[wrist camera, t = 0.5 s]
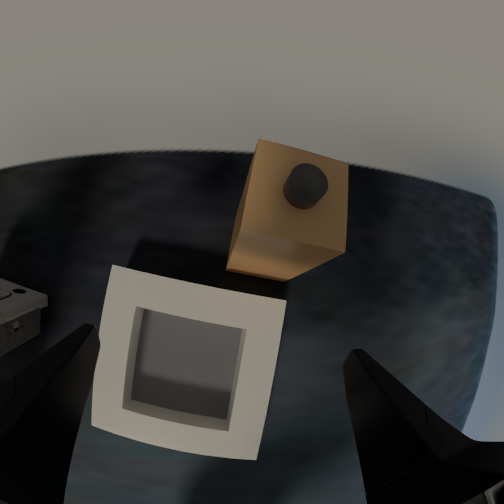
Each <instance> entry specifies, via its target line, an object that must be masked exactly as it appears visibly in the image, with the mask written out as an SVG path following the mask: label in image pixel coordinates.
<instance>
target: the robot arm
mask: <svg viewBox="0 0 504 504" xmlns="http://www.w3.org/2000/svg"><path fill="white" fill-rule="evenodd" d="M99 351H100V339H99V336H98V332H97V328H96V327H95V326H94V325H91V324H83V325H82V326H80V327H79V328H77V329H76V330H75V331H73V332H72V333H70V334H69V335H68V336H66V337H65V338H63V339H62V340H61V341H59V342H58V343H57V344H55V345H54V346H53V347H51V348H50V349H48V350H47V351H46V352H44V353H43V354H42V355H40V356H39V357H38V358H36V359H35V360H34V361H32V362H31V363H30V364H28V365H27V366H26V367H24V368H23V369H22V370H21V371H19V372H18V373H17V374H16V375H14V376H13V377H11V378H10V379H9V380H8V381H6V382H5V383H3V384H2V385H1V386H0V504H63V503H64V496H65V489H66V484H67V477H68V472H69V467H70V462H71V458H72V453H73V449H74V445H75V441H76V437H77V433H78V429H79V426H80V422H81V418H82V415H83V411H84V408H85V405H86V401H87V398H88V395H89V392H90V389H91V385H92V381H93V377H94V372H95V368H96V363H97V359H98V355H99ZM343 375H344V383H345V391H346V399H347V405H348V410H349V414H350V418H351V423H352V427H353V432H354V436H355V441H356V446H357V450H358V455H359V460H360V465H361V471H362V476H363V482H364V487H365V493H366V500H367V504H504V442H482V441H475V440H473V439H470V438H469V437H467V436H466V435H464V434H463V433H461V432H460V431H459V430H457V429H456V428H454V427H453V426H452V425H450V424H449V423H447V422H446V421H445V420H443V419H442V418H441V417H440V416H438V415H437V414H436V413H435V412H434V411H432V410H431V409H430V408H429V407H428V406H427V405H425V404H424V403H423V402H422V401H421V400H420V399H419V398H417V397H416V396H415V395H414V394H413V393H412V392H411V391H410V390H408V389H407V388H406V387H405V386H404V385H403V384H402V383H400V382H399V381H398V380H397V379H396V378H395V377H394V376H392V375H391V374H390V373H389V372H388V371H387V370H386V369H384V368H383V367H382V366H381V365H380V364H379V363H378V362H376V361H375V360H374V359H373V358H372V357H371V356H370V355H368V354H367V353H366V352H365V351H364V350H362V349H353V350H351V351H350V353H349V355H348V357H347V358H346V360H345V362H344V364H343Z"/></svg>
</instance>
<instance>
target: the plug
mask: <svg viewBox="0 0 504 504" xmlns="http://www.w3.org/2000/svg"><path fill="white" fill-rule="evenodd" d="M347 210H348V164H347V163H344V162H341V161H338V160H334V159H331V158H328V157H325V156H321V155H318V154H315V153H311V152H308V151H304V150H301V149H297V148H293V147H289V146H286V145H282V144H278V143H274V142H270V141H266V140H261V139H258V142H257V146H256V149H255V152H254V156H253V159H252V162H251V166H250V169H249V173H248V176H247V180H246V183H245V186H244V190H243V194H242V197H241V201H240V204H239V208H238V211H237V215H236V220H235V225H234V230H233V235H232V240H231V245H230V250H229V255H228V260H227V266H226V271H231V272H236V273H241V274H246V275H251V276H257V277H262V278H267V279H272V280H278V281H283V282H285V281H287V280H289V279H291V278H293V277H295V276H297V275H300V274H302V273H304V272H306V271H308V270H310V269H312V268H314V267H316V266H318V265H320V264H322V263H324V262H327V261H329V260H331V259H333V258H335V257H337V256H339V255H341V254H343V253H345V247H346V231H347Z"/></svg>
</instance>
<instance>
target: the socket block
mask: <svg viewBox="0 0 504 504" xmlns="http://www.w3.org/2000/svg"><path fill="white" fill-rule="evenodd" d="M285 307H286V300H280V299H274V298H269V297H263V296H257V295H252V294H247V293H241V292H236V291H231V290H225V289H220V288H215V287H210V286H205V285H200V284H195V283H191V282H186V281H181V280H177V279H172V278H167V277H163V276H158V275H154V274H150V273H145V272H141V271H137V270H132V269H128V268H124V267H120V266H116V265H112V269H111V274H110V278H109V282H108V287H107V292H106V297H105V302H104V307H103V313H102V318H101V324H100V331H99V339H100V351H99V355H98V359H97V363H96V368H95V372H94V383H93V398H92V426H95V427H98V428H100V429H103V430H106V431H109V432H112V433H115V434H118V435H121V436H124V437H127V438H130V439H134V440H137V441H141V442H144V443H148V444H152V445H156V446H160V447H165V448H169V449H174V450H179V451H184V452H189V453H195V454H201V455H208V456H215V457H224V458H233V459H245V460H256V459H257V455H258V450H259V446H260V441H261V437H262V432H263V427H264V423H265V418H266V413H267V408H268V403H269V398H270V393H271V388H272V382H273V377H274V372H275V366H276V361H277V355H278V349H279V344H280V338H281V332H282V326H283V319H284V313H285Z"/></svg>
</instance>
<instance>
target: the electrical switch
mask: <svg viewBox="0 0 504 504" xmlns="http://www.w3.org/2000/svg"><path fill="white" fill-rule="evenodd" d="M47 306H48V296H47V295H46V294H43V293H40V292H37V291H34V290H31V289H29V288H26V287H23V286H20V285H17V284H15V283H12V282H9V281H7V280H4V279H1V278H0V357H1V356H3V355H4V354H6V353H8V352H9V351H11V350H13V349H14V348H16V347H18V346H19V345H21V344H23V343H25V342H26V341H28V340H30V339H31V338H33V337H35V336H37V335H38V334H40V333H41V332H40V318H41V308H43V307H47ZM21 325H23V329H22V326H21ZM15 328H17V329H18V330H17V331H16V332H15V330H14V329H15Z"/></svg>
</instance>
